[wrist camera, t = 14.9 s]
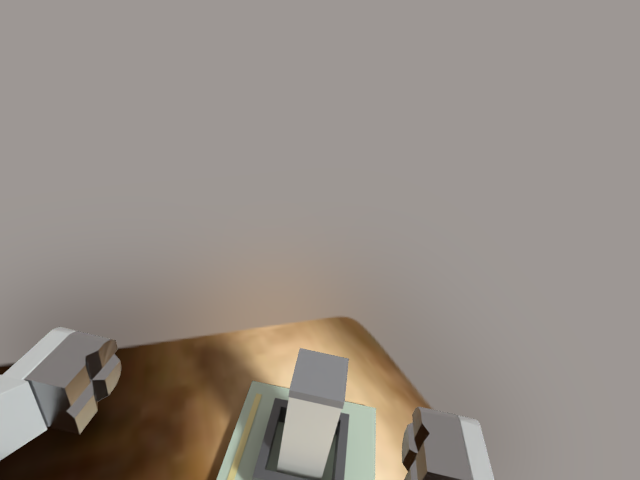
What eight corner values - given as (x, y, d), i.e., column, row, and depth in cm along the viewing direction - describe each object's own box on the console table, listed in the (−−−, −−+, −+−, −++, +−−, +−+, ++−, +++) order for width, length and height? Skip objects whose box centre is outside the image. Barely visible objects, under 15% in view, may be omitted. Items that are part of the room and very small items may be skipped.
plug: (275, 475, 33) (289, 390, 27) (286, 427, 37) (301, 343, 31) (320, 486, 33) (344, 402, 27) (326, 436, 37) (349, 353, 31)
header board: (199, 531, 30) (198, 511, 28) (251, 386, 42) (253, 365, 40) (371, 573, 29) (381, 555, 27) (373, 413, 41) (381, 394, 39)
